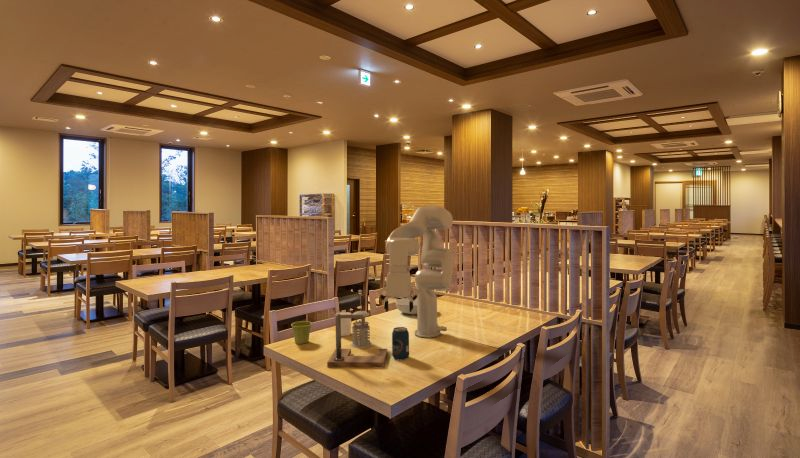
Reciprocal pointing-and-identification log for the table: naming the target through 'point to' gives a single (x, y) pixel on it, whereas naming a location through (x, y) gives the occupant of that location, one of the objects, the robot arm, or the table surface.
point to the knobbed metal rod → (338, 333)
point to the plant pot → (301, 331)
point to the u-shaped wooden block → (358, 359)
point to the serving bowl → (406, 306)
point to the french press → (361, 330)
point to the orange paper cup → (345, 324)
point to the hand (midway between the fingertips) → (398, 311)
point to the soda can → (400, 343)
